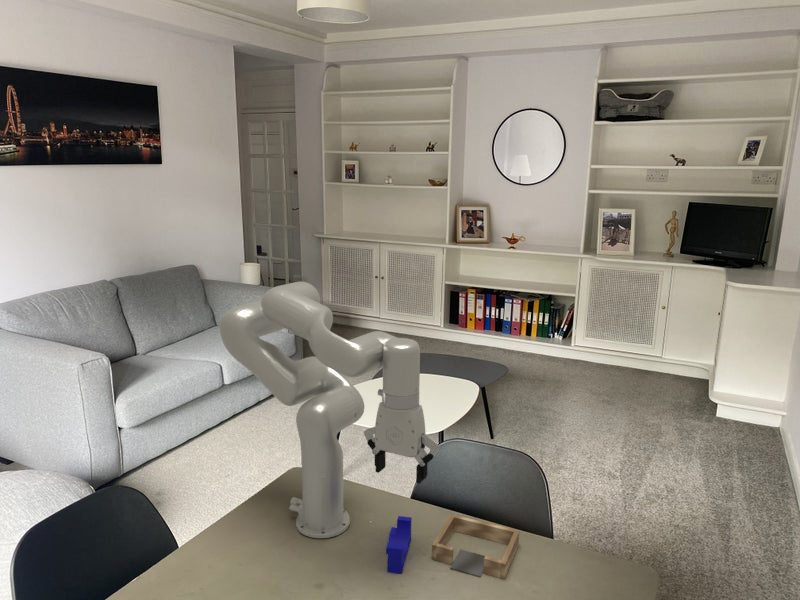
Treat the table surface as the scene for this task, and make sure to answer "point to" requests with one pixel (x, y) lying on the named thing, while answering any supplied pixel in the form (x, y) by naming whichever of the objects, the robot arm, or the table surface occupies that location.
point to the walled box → (473, 561)
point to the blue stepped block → (398, 545)
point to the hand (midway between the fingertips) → (400, 475)
